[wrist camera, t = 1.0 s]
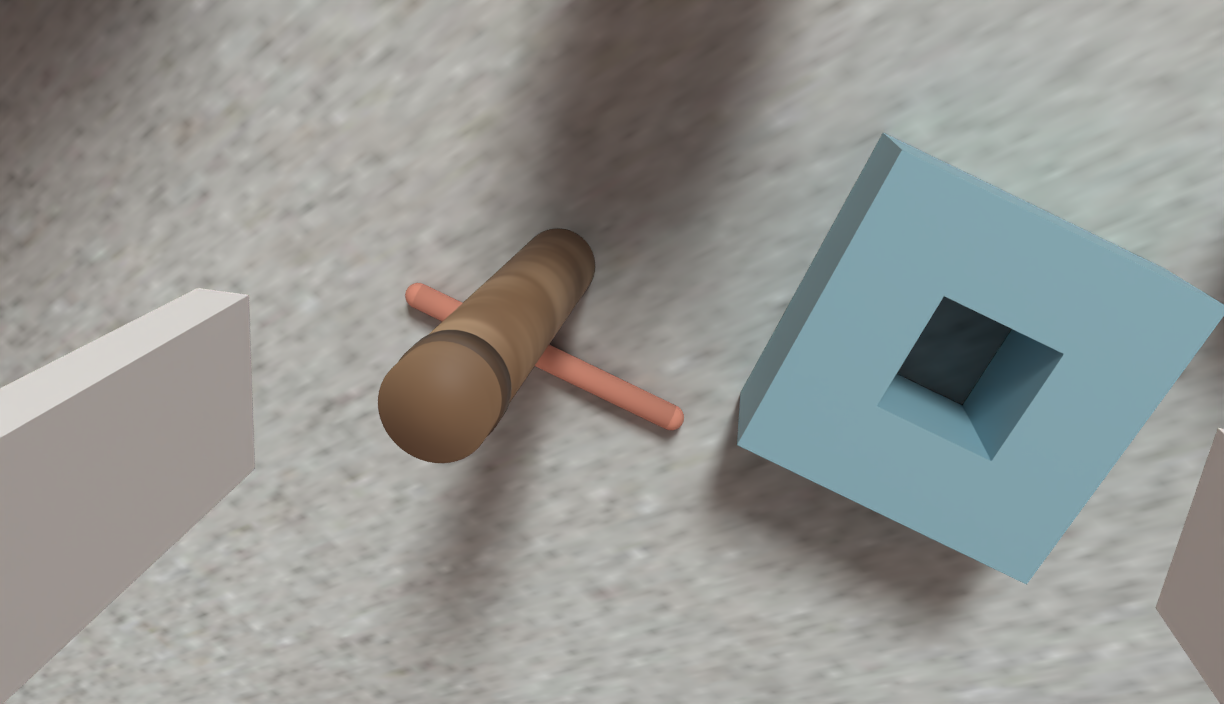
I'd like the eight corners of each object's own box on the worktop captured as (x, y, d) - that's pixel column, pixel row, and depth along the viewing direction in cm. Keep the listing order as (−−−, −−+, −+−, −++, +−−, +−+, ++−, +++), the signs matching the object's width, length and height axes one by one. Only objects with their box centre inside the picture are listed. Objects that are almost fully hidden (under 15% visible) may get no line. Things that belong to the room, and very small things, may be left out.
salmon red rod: (407, 297, 39) (398, 304, 38) (415, 276, 38) (406, 282, 37) (678, 428, 39) (675, 438, 38) (689, 407, 38) (687, 417, 37)
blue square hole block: (740, 393, 38) (737, 444, 33) (883, 132, 34) (901, 149, 29) (994, 515, 38) (1026, 584, 33) (1165, 269, 34) (1229, 308, 29)
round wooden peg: (511, 280, 38) (360, 432, 24) (539, 214, 37) (399, 331, 23) (578, 313, 38) (467, 484, 24) (608, 247, 37) (511, 385, 23)
